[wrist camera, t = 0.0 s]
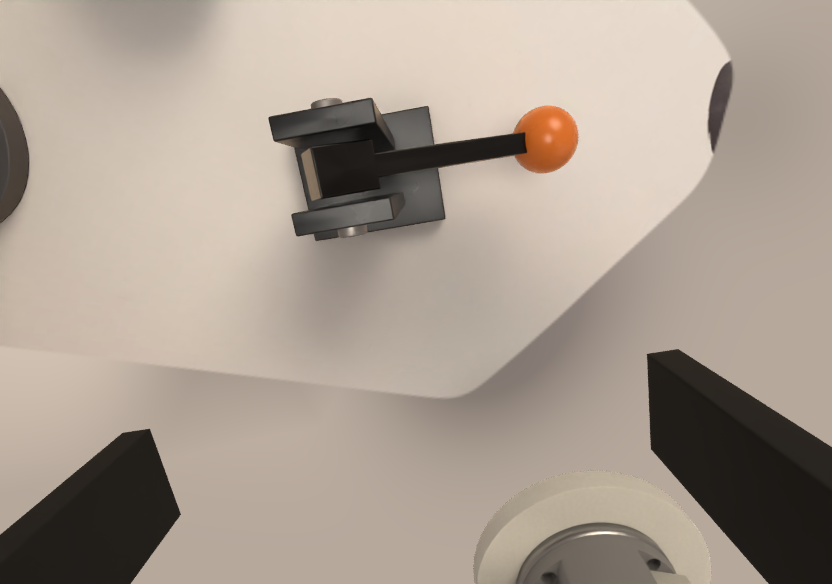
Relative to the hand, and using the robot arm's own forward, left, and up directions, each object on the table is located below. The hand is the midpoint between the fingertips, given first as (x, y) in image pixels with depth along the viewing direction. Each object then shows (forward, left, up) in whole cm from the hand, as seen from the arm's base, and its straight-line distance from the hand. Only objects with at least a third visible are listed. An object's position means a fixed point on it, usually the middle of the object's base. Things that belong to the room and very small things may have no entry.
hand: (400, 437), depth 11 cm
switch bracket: (+7, +2, -24) cm, 25 cm away
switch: (+7, -3, -15) cm, 17 cm away
